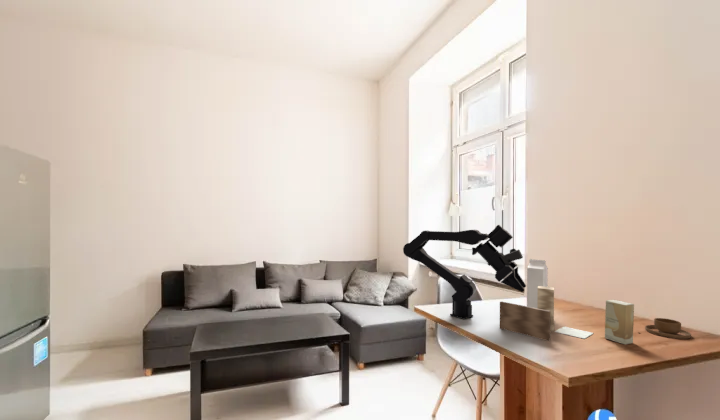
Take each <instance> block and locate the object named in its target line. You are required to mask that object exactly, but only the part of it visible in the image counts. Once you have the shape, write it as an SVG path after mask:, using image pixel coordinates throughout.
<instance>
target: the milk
mask: <svg viewBox="0 0 720 420" xmlns="http://www.w3.org/2000/svg"><path fill="white" fill-rule="evenodd" d="M546 261H547V260H543V259H533V258H530V259H529V263H528V266H527V267H526V306H527V307H532V308H537V296H538V286H543V287H549V286H548V284H549V283H548V281H549V280H548V279H549V278H548V274H549V272H548V269H549V268H548V266H547V263H546Z"/></svg>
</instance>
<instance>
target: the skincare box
mask: <svg viewBox="0 0 720 420" xmlns="http://www.w3.org/2000/svg"><path fill="white" fill-rule="evenodd" d="M604 314H605V315H604V317H605V318H604V320H605V322H604V339H607V340H610V341H613V342H616V343H620V344H622V345H629V344H633V343H634V325H635V323H634V321H635V320H634V316H635V315H634V314H635V304H634V303H632V302H631V303H630V302H626V301H621V300H618V299H617V300H616V299H609V300H608V299H607V300H605V313H604Z"/></svg>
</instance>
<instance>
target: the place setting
mask: <svg viewBox="0 0 720 420" xmlns="http://www.w3.org/2000/svg"><path fill="white" fill-rule="evenodd" d="M644 329H645V331H646V332H648V333H650V334H652V335H656V336H659V337H664V338H669V339H676V340H677V339H678V340H688V339H690V338H691V337H692V333H691V332H690V331H688V330H685V329H682V322H680V321H678V320H674V319H672V318H671V319H670V318H662V317H655V318H654V320H653V324H647V325H644ZM653 329H654V330H653ZM655 329H656V330H657V331H656V330H655ZM637 334H641V332H639V331H638V332H637ZM678 334H683V335H678Z"/></svg>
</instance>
